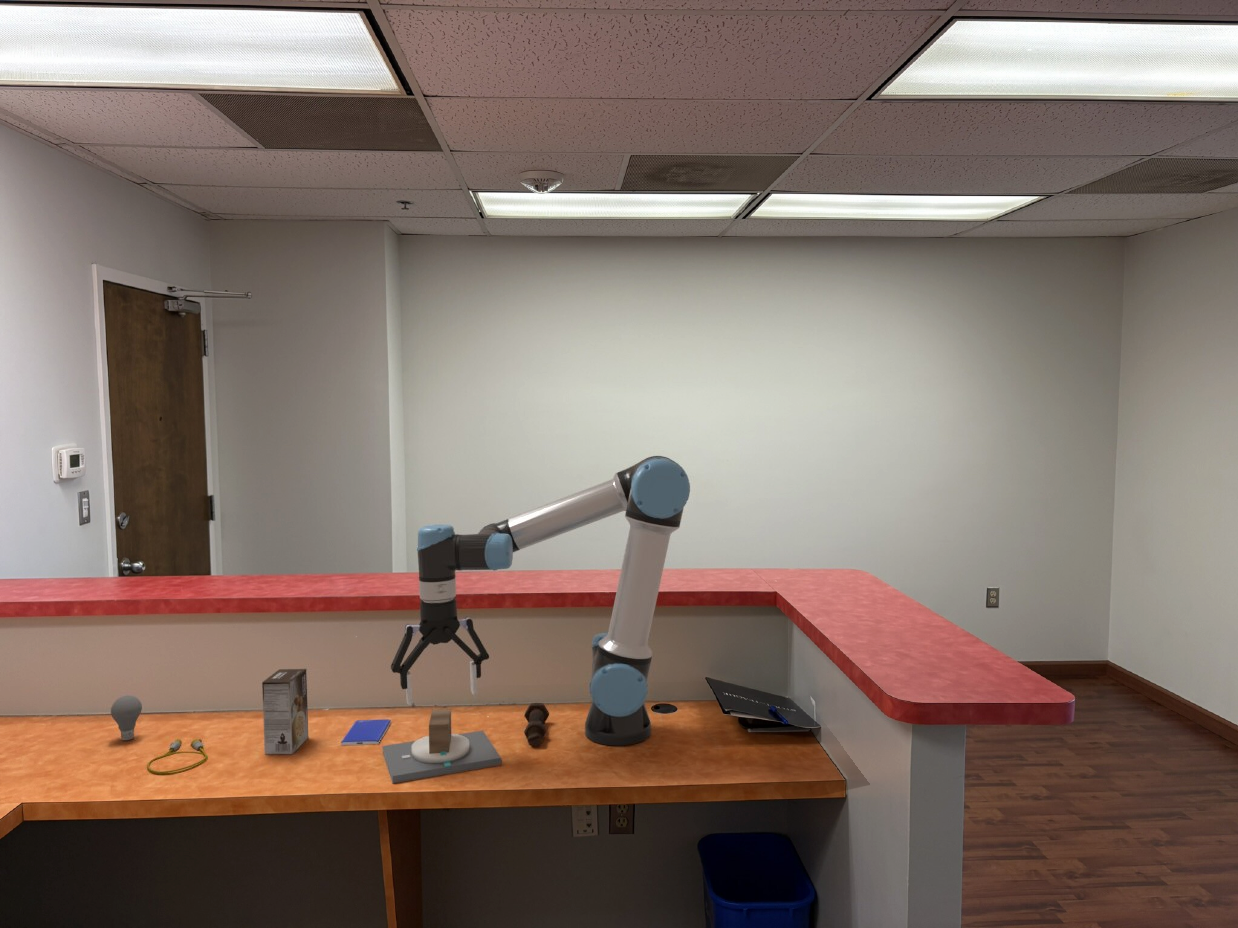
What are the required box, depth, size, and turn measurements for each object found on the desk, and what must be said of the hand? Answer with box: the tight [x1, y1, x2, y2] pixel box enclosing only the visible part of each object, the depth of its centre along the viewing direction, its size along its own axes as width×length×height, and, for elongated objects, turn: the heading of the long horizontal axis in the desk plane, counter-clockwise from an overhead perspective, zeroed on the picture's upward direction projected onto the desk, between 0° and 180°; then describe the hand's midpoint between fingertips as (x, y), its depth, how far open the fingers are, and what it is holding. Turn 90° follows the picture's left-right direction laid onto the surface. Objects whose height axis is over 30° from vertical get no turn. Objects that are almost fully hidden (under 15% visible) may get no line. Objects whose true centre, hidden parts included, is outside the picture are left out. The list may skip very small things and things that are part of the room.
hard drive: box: [340, 718, 392, 746], centre depth 187 cm, size 2×8×12 cm
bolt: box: [523, 702, 550, 747], centre depth 186 cm, size 6×5×15 cm
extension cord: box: [146, 738, 209, 776], centre depth 174 cm, size 12×16×2 cm
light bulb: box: [110, 694, 143, 741], centre depth 184 cm, size 6×6×10 cm
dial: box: [412, 708, 469, 763], centre depth 173 cm, size 12×12×8 cm
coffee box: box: [261, 668, 309, 755], centre depth 180 cm, size 9×6×16 cm
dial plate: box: [382, 730, 502, 784], centre depth 173 cm, size 22×16×2 cm
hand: (442, 698), depth 173 cm, fingers open, 13 cm apart
